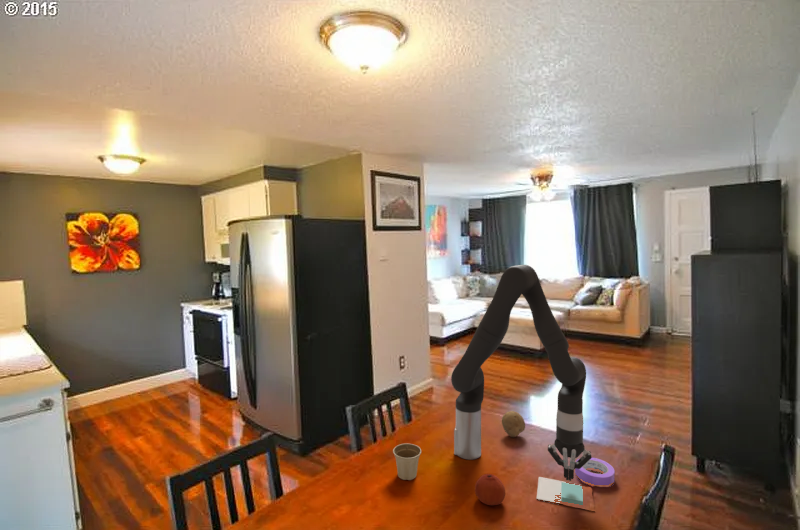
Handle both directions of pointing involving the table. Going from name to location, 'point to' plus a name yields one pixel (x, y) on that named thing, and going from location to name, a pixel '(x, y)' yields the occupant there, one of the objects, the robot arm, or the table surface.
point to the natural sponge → (513, 423)
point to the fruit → (490, 490)
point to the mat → (548, 489)
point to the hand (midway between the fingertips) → (568, 479)
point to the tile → (571, 493)
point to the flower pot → (407, 460)
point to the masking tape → (594, 477)
